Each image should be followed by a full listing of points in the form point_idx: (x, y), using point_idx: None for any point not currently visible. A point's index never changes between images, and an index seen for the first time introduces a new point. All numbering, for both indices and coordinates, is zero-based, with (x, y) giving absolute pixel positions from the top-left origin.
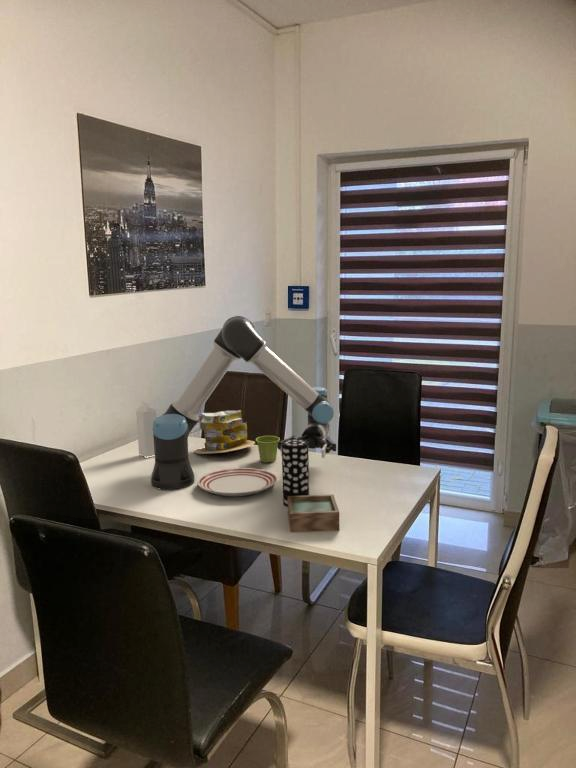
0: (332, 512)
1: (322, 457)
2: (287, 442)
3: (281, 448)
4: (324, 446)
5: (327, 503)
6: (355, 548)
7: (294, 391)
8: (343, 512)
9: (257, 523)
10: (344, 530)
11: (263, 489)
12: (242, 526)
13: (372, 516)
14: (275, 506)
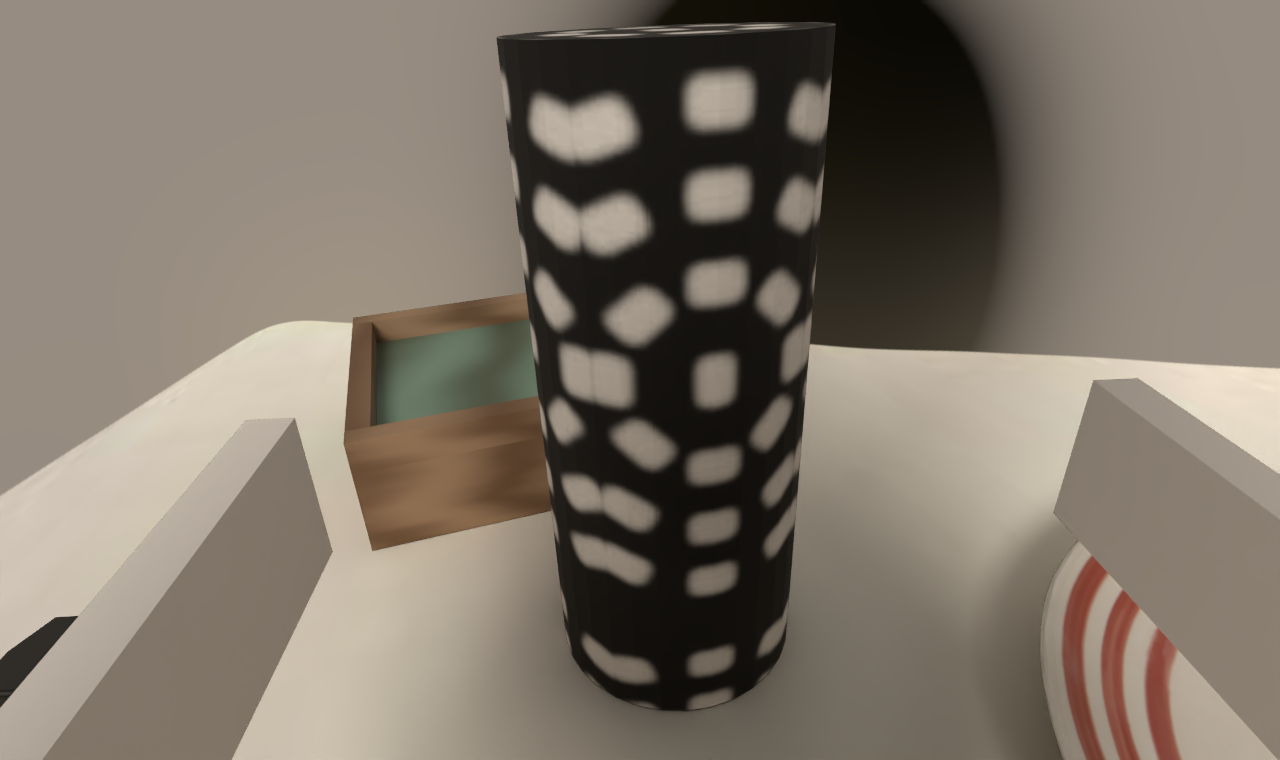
0: (389, 314)
1: (317, 548)
2: (756, 25)
3: (1136, 383)
4: (129, 598)
5: (405, 414)
6: (335, 335)
7: None
8: None
9: None
10: None
11: (1048, 624)
12: (829, 362)
13: (115, 540)
14: (803, 542)
